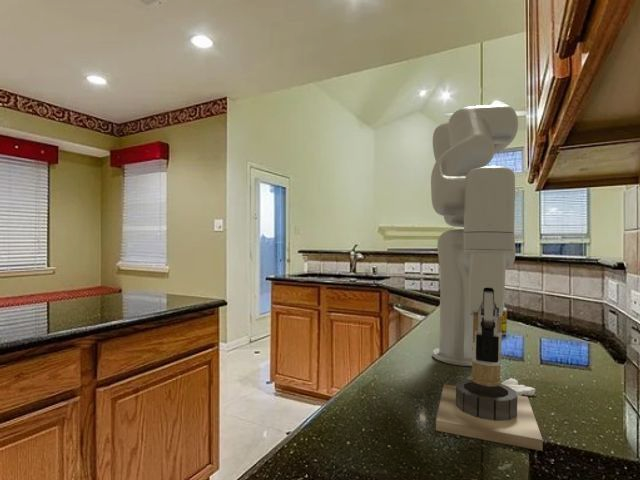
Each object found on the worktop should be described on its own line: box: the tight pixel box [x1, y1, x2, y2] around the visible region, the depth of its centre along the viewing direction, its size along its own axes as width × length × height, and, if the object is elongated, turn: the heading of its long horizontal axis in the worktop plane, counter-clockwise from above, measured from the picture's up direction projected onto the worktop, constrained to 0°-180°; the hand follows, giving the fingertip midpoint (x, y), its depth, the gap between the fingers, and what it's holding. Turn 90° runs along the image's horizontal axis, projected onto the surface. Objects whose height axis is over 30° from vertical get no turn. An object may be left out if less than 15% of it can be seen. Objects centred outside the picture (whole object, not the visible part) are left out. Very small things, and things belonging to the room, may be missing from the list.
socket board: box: [435, 378, 544, 452], centre depth 63 cm, size 16×14×4 cm
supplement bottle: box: [501, 304, 508, 336], centre depth 122 cm, size 6×6×10 cm
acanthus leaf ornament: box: [501, 377, 536, 396], centre depth 75 cm, size 8×7×2 cm
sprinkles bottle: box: [470, 298, 503, 387], centre depth 62 cm, size 5×5×14 cm
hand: (486, 355), depth 62 cm, fingers closed on sprinkles bottle, 4 cm apart
